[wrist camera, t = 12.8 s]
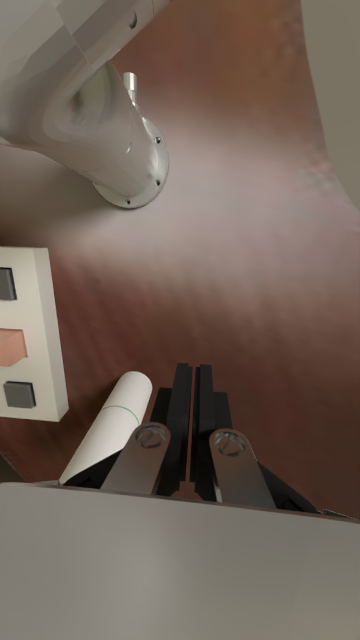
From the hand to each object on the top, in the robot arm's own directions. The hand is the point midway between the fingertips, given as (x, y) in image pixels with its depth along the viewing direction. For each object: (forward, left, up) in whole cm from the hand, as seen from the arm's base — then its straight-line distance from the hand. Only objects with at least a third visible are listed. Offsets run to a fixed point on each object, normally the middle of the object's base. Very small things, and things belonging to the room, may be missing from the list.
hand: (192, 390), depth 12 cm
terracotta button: (+12, -34, -29) cm, 46 cm away
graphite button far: (+23, -34, -32) cm, 52 cm away
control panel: (+12, -34, -32) cm, 48 cm away
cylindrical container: (+22, -12, -32) cm, 41 cm away
